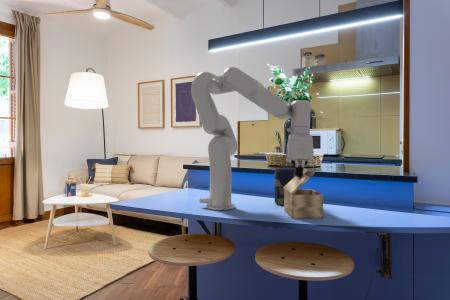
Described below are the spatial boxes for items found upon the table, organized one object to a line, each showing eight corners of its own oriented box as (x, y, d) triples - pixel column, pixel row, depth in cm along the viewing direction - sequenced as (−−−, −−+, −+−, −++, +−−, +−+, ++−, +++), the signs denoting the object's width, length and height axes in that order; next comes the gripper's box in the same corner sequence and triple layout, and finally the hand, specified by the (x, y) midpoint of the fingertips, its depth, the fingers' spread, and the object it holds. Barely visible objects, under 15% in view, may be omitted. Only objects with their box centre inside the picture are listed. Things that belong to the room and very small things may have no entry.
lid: (292, 194, 124) (290, 193, 124) (284, 189, 138) (282, 187, 138) (315, 173, 124) (313, 171, 124) (304, 169, 138) (303, 168, 138)
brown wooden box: (291, 218, 124) (292, 195, 124) (284, 210, 138) (284, 189, 138) (322, 218, 124) (323, 194, 124) (312, 210, 138) (312, 189, 138)
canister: (295, 206, 145) (295, 166, 145) (273, 206, 147) (274, 166, 147) (294, 202, 155) (295, 165, 154) (274, 202, 157) (275, 164, 156)
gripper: (283, 130, 126) (282, 177, 127) (321, 131, 126) (320, 178, 127) (279, 131, 134) (278, 175, 134) (315, 132, 134) (314, 176, 135)
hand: (298, 176), depth 131 cm, fingers closed
